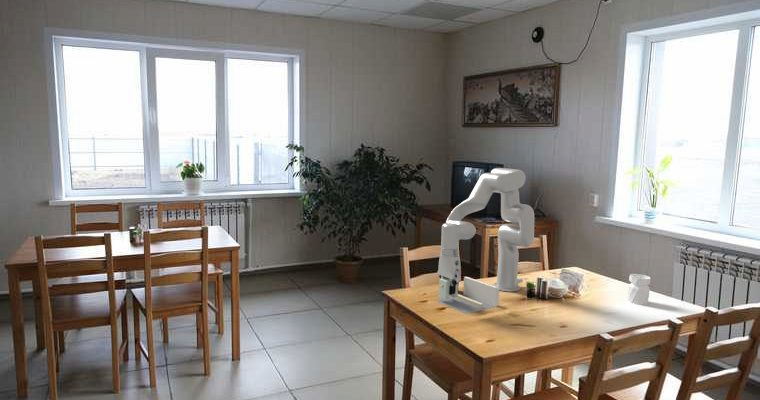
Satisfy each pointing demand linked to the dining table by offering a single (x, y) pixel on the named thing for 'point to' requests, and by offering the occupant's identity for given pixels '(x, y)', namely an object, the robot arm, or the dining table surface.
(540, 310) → the dining table surface
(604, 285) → the dining table surface
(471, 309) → the cleat board
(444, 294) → the cabinet block
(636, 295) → the white lidded jar
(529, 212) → the robot arm
